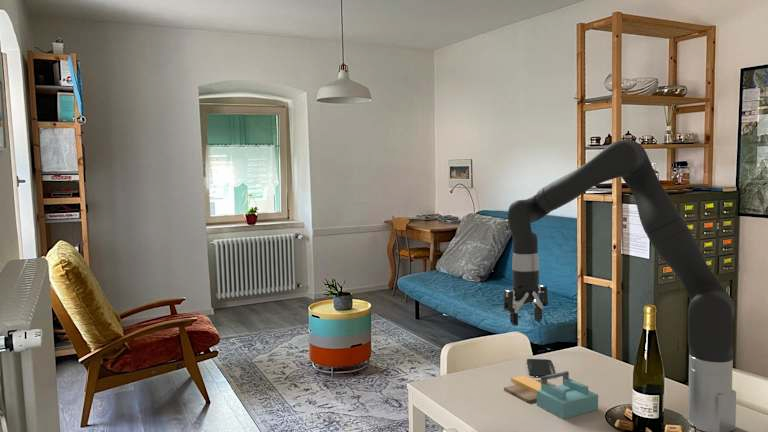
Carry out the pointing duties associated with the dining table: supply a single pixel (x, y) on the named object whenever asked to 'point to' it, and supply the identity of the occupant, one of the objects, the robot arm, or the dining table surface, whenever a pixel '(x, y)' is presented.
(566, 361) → the dining table surface
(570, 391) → the ticket dispenser
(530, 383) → the ticket card
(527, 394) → the walnut mat
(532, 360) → the phone
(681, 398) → the dining table surface
